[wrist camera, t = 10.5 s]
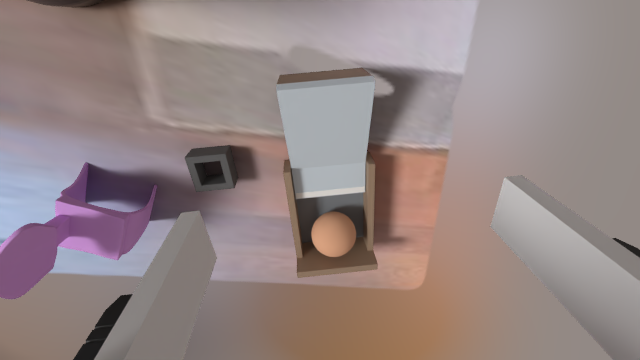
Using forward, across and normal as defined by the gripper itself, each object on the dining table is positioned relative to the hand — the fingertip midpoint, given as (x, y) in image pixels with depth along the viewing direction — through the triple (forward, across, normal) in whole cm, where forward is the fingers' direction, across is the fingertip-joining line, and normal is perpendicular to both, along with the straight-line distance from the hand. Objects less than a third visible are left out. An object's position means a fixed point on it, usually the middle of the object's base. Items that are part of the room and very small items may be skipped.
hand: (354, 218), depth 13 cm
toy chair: (+23, -27, -10) cm, 37 cm away
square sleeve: (+23, -14, -7) cm, 27 cm away
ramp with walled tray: (+23, 0, -9) cm, 24 cm away
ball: (+22, 0, -16) cm, 27 cm away
